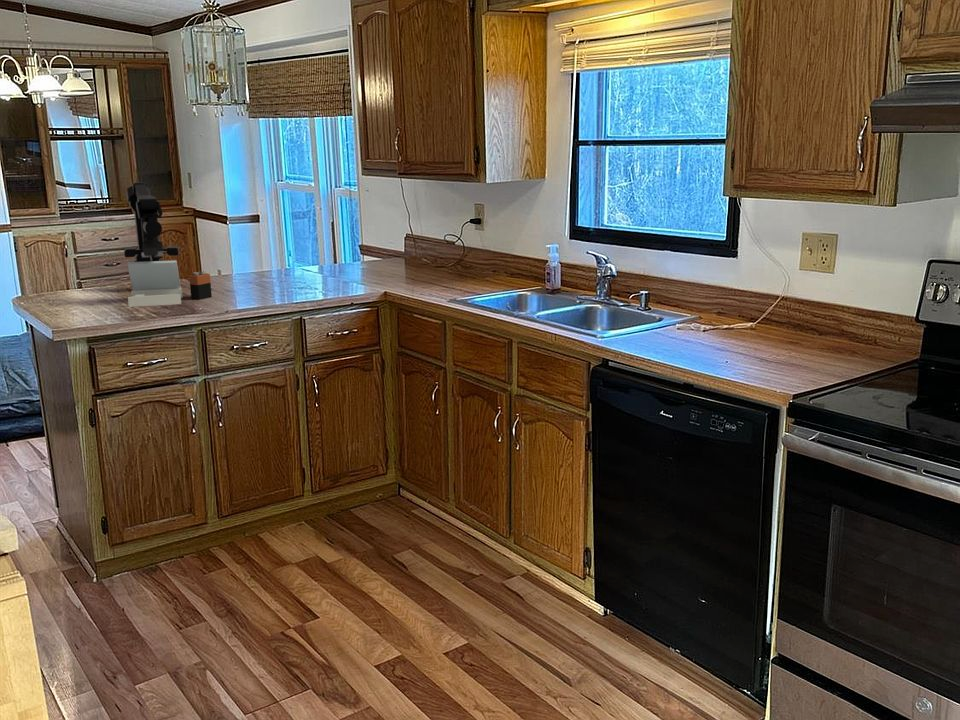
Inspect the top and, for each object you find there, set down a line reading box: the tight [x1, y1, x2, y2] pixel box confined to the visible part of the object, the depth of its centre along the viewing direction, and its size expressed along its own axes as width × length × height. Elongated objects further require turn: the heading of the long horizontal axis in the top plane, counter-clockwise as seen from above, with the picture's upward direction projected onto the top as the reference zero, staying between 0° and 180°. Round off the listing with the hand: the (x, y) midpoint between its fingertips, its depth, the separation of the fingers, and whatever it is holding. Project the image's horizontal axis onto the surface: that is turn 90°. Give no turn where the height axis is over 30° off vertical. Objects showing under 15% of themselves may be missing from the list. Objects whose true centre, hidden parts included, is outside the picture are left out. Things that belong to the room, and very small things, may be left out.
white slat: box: [127, 287, 183, 308], centre depth 320 cm, size 14×18×4 cm
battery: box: [188, 271, 212, 300], centre depth 327 cm, size 4×7×10 cm, turn 151°
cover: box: [126, 260, 181, 291], centre depth 321 cm, size 14×17×1 cm
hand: (154, 274), depth 322 cm, fingers closed, pressing on cover
